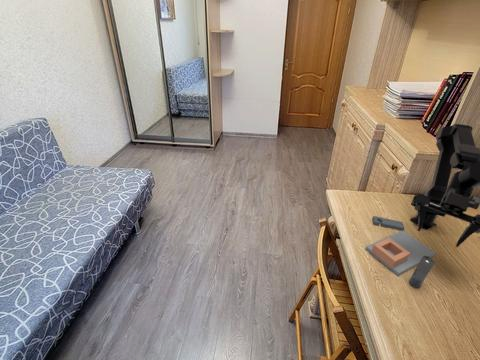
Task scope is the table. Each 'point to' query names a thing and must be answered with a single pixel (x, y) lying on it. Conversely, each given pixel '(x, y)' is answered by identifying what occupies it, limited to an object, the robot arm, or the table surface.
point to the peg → (421, 271)
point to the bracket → (388, 223)
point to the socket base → (399, 252)
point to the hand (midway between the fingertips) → (437, 238)
